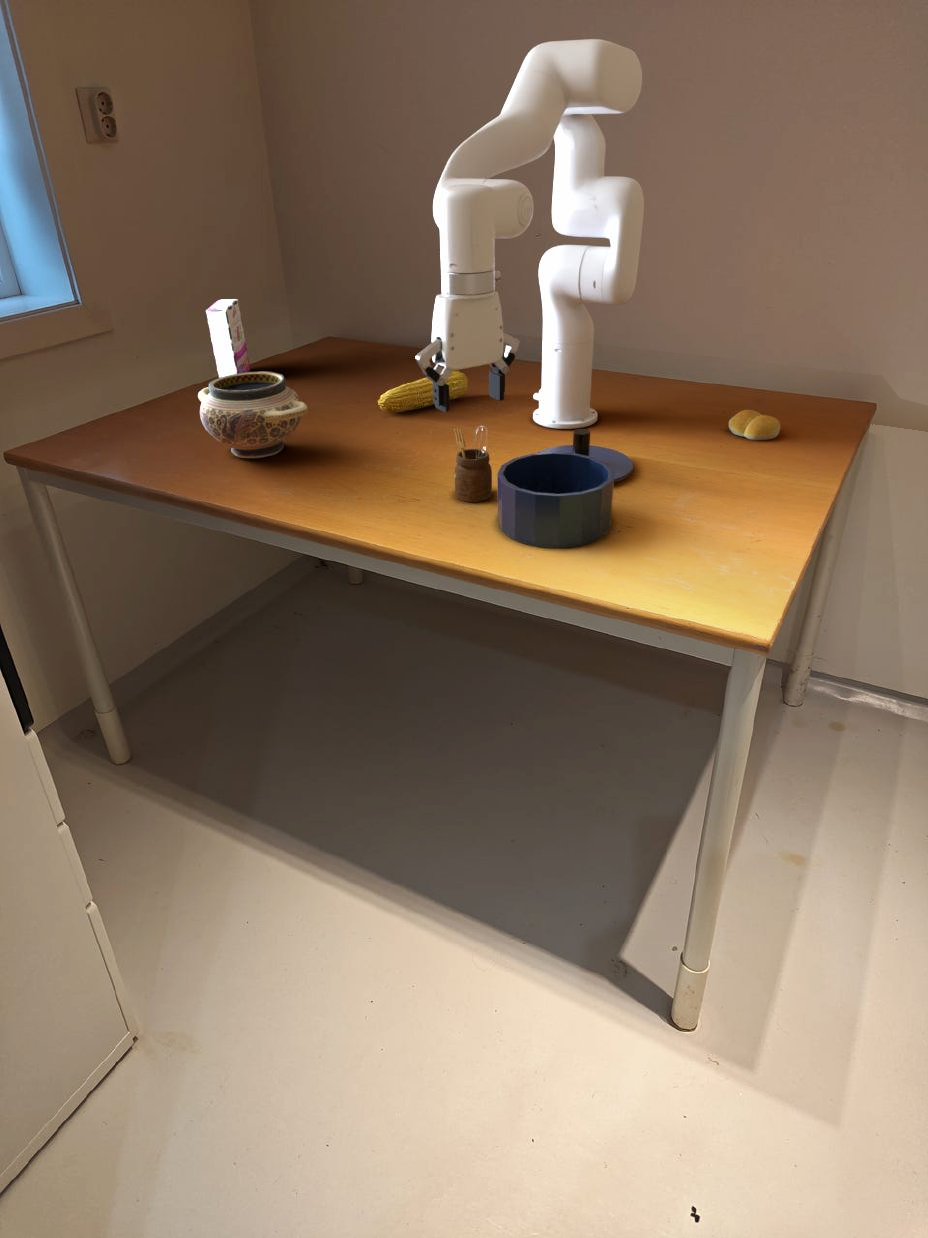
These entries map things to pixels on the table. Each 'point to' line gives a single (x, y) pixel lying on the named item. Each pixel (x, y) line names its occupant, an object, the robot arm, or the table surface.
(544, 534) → the tin
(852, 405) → the table surface
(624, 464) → the tin lid
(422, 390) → the food
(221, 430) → the ceramic bowl
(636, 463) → the table surface
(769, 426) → the bread roll
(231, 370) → the candy bar box
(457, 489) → the utensil holder
